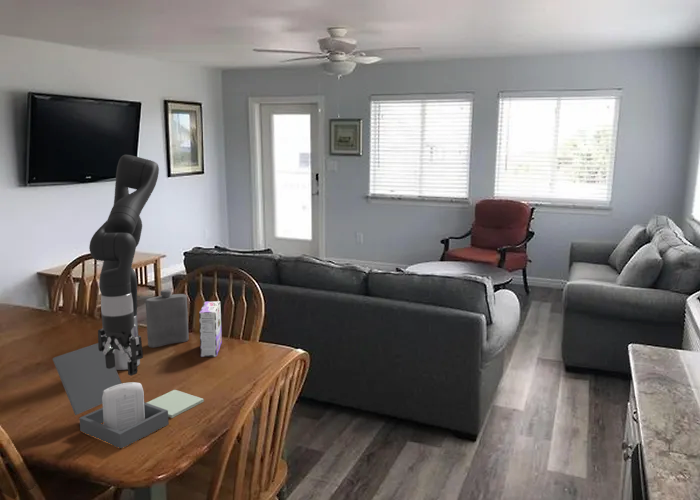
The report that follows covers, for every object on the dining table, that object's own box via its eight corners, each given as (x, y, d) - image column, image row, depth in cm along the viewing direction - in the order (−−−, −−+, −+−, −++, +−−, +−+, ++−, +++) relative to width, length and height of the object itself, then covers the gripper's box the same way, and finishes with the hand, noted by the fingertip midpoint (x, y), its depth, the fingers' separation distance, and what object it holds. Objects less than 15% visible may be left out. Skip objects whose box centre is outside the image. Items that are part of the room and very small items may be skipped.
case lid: (77, 414, 150) (74, 415, 151) (125, 393, 163) (122, 394, 164) (54, 357, 152) (51, 359, 153) (104, 340, 164) (101, 342, 165)
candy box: (206, 343, 217) (204, 300, 214) (222, 343, 217) (221, 300, 214) (200, 357, 203) (198, 311, 200) (217, 356, 204) (215, 311, 201)
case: (80, 432, 151) (79, 417, 150) (128, 409, 163) (127, 396, 163) (121, 449, 143) (120, 434, 142) (168, 424, 155) (167, 410, 155)
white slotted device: (143, 420, 158) (140, 377, 155) (147, 426, 154) (144, 382, 152) (102, 430, 152) (99, 385, 150) (106, 437, 149) (102, 391, 146)
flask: (185, 336, 224) (183, 286, 220) (190, 341, 219) (188, 289, 215) (145, 344, 215) (142, 291, 212) (150, 348, 211) (147, 295, 207)
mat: (142, 407, 165) (142, 404, 165) (174, 392, 175) (174, 389, 175) (172, 417, 159) (171, 415, 159) (203, 401, 169) (203, 398, 169)
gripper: (148, 311, 147) (152, 372, 150) (111, 303, 154) (115, 361, 157) (123, 319, 140) (127, 382, 143) (86, 309, 148) (91, 370, 151)
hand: (121, 371), depth 150 cm, fingers open, 8 cm apart
